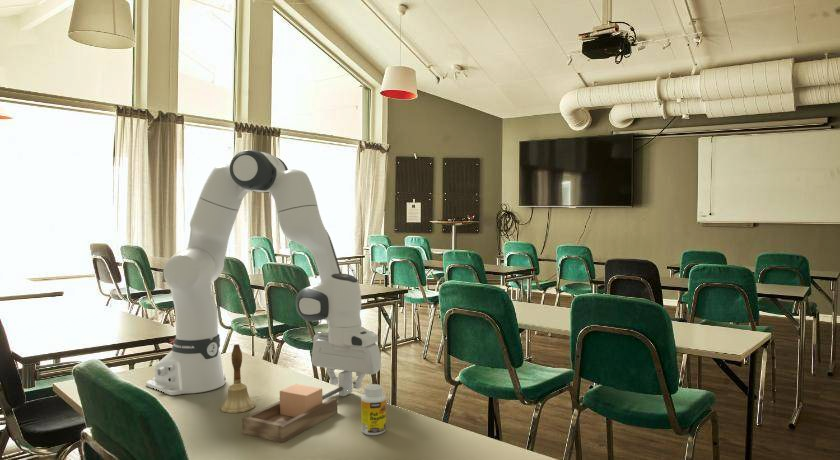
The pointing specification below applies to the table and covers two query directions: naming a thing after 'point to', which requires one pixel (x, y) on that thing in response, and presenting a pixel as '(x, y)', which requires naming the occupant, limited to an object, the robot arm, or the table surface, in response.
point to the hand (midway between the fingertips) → (345, 386)
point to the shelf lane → (285, 421)
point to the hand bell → (237, 388)
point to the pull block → (310, 395)
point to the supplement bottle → (373, 410)
